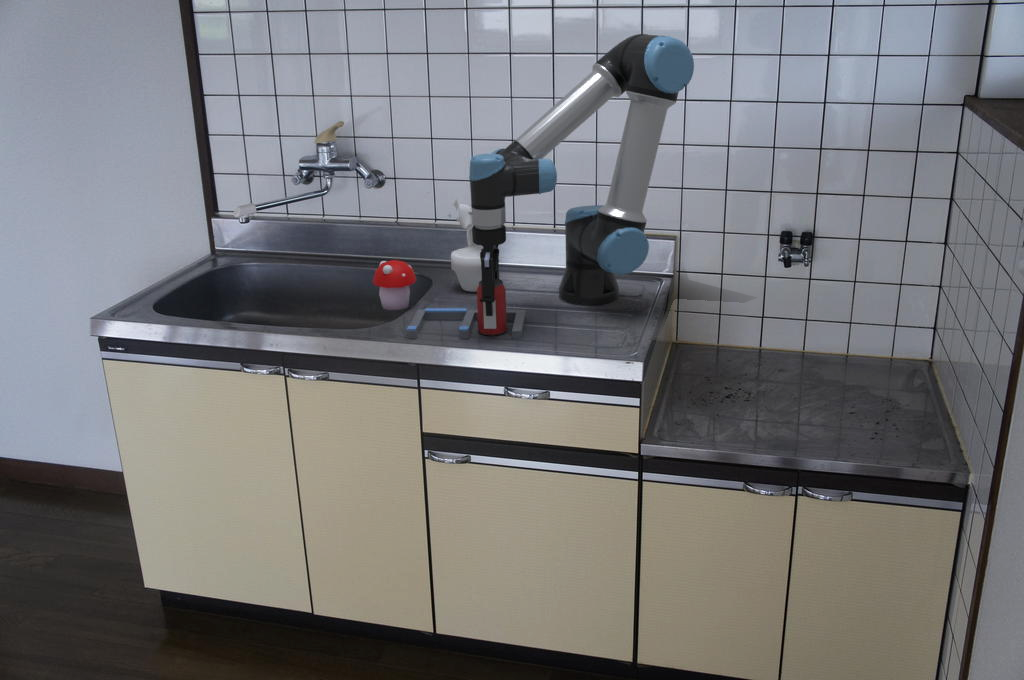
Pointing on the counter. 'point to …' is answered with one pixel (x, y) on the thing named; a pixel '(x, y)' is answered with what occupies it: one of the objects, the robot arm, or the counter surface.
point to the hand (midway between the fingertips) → (492, 321)
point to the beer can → (500, 309)
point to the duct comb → (464, 315)
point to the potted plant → (467, 254)
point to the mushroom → (394, 284)
